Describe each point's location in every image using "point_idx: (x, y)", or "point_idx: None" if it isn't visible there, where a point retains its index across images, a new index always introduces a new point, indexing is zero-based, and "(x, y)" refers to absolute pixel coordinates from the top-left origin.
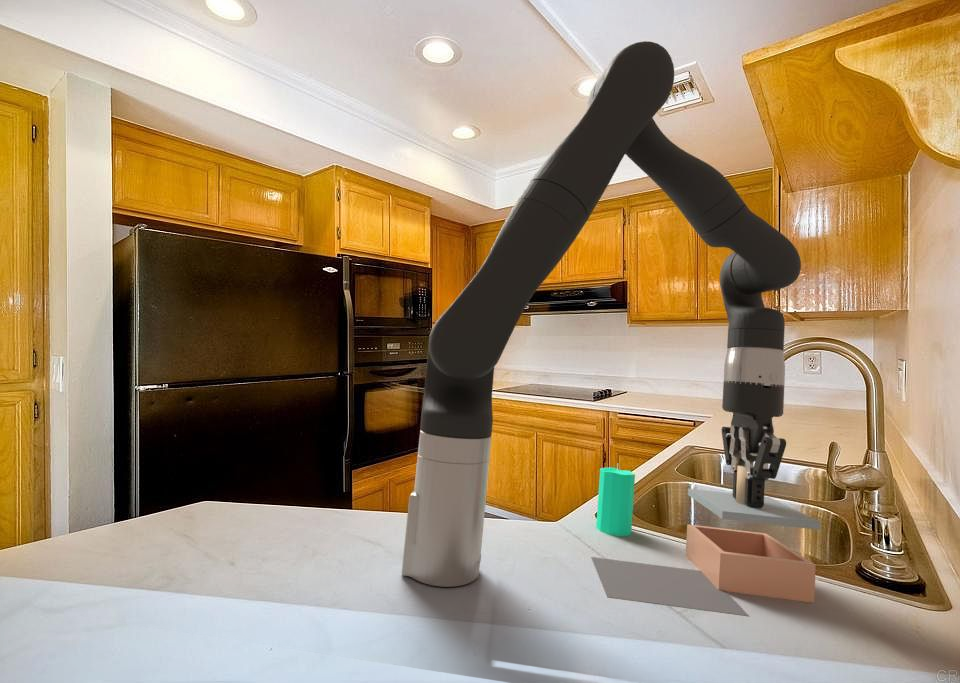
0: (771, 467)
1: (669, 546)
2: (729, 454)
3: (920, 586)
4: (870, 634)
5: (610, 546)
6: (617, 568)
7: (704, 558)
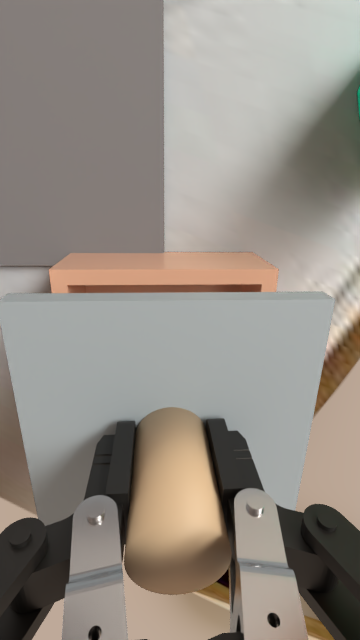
0: (13, 627)
1: (319, 237)
2: (335, 566)
3: (224, 582)
4: (15, 434)
5: (288, 44)
6: (102, 6)
7: (147, 259)
